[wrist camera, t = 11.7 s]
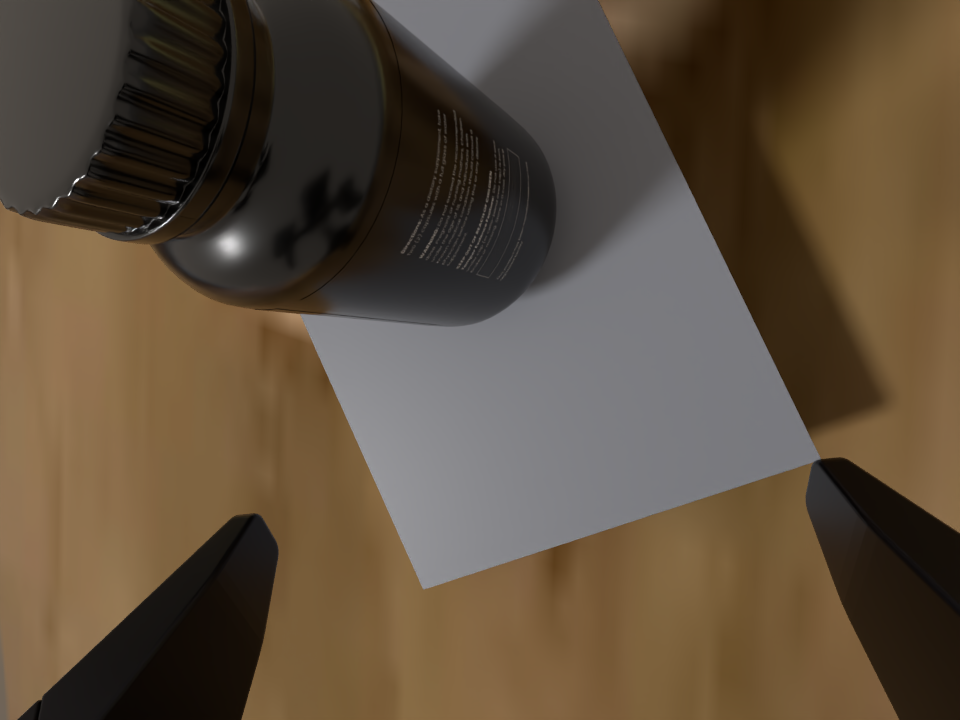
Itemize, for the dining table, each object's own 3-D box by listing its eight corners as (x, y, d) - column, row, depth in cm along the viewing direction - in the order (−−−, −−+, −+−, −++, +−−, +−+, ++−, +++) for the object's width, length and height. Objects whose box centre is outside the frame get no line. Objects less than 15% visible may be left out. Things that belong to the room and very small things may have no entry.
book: (802, 434, 19) (821, 459, 16) (454, 555, 24) (423, 589, 21) (547, -91, 20) (524, -153, 17) (262, 130, 25) (208, 109, 22)
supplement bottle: (473, 71, 19) (52, -318, 8) (610, 218, 16) (286, -45, 6) (346, 228, 21) (-104, 92, 10) (451, 373, 19) (20, 387, 8)
